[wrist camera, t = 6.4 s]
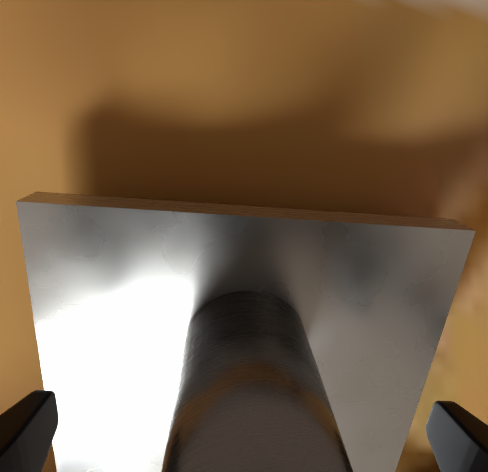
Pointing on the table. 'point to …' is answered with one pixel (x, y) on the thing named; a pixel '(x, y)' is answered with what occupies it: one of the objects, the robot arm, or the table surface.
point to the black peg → (251, 394)
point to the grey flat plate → (219, 283)
